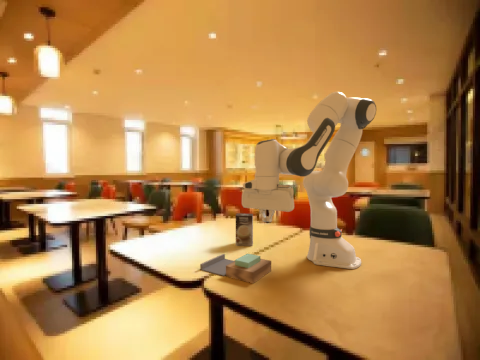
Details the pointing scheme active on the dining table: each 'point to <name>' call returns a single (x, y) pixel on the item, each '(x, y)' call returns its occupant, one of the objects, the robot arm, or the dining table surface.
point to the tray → (216, 265)
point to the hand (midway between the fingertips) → (267, 221)
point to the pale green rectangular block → (247, 260)
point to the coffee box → (244, 229)
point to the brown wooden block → (249, 271)
